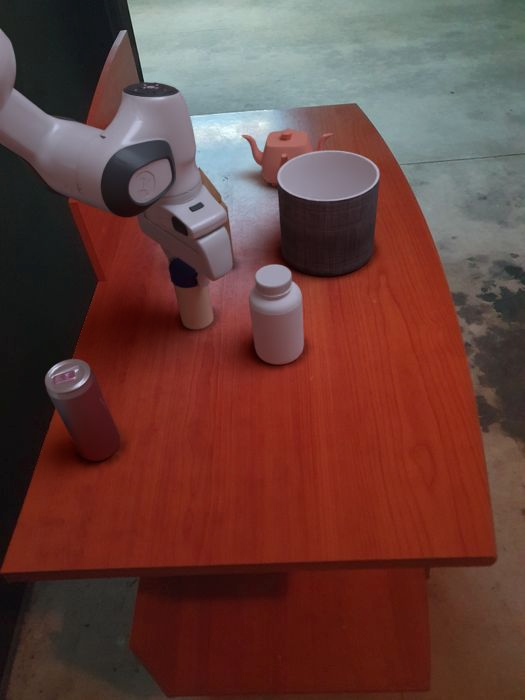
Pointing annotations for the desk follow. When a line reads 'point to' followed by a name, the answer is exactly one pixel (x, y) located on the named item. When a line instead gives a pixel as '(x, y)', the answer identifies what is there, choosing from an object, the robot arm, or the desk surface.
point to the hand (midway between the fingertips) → (189, 275)
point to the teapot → (282, 150)
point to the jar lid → (182, 273)
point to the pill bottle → (276, 315)
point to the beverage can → (83, 409)
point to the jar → (194, 306)
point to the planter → (328, 211)
